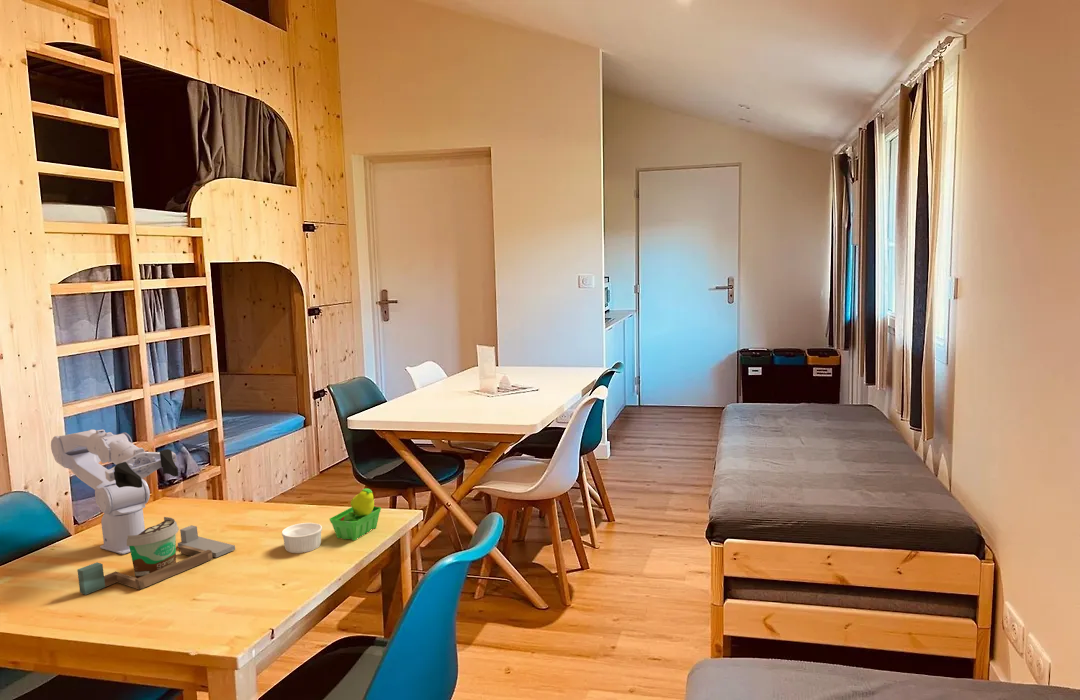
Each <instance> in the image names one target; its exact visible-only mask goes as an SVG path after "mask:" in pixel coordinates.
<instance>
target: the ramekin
mask: <svg viewBox="0 0 1080 700" xmlns="http://www.w3.org/2000/svg"><path fill="white" fill-rule="evenodd" d="M322 531H323V526H322V525H321V524H320V523H316V522H302V523H301V522H300V523H296V524H292V525H289V526H287V527H285V528H284V529H282V531H281V535H282V538H283V543H284V544H283V545H284V549H285V550H286V551H287V552H288V553H291V554H301V553H302V554H303V552H304V553H309V552H312V551H314V549H315V550H316V548H317V549H318V548H319V547H320V546H321V543H322Z"/></svg>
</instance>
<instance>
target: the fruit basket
mask: <svg viewBox="0 0 1080 700" xmlns="http://www.w3.org/2000/svg"><path fill="white" fill-rule="evenodd" d="M350 506H351V507H350V508H348V509H346V510H344V511H341V512H339V513H338V514H336V515H334V516H332V517H330V518H329V522H330V523H331V526H332V528H333V530H334V533H335V536H336V538H337V539H338V538H342V540H346V539H352V540H351V541H357V540H358V539H359V538H361V537H360V536H362V535H363V536H365V535H366V534H365V533H367V532H369V531H370V530H371V529H374V528H375V529H377V526H378V523H379V517H380V513H381V509H382V507H381V506H375V500H374V493H373V491H372V489H370V488H363V489H362V490H361V491H360V492H359V493H358V494H356V495H354V496H353V498H351V501H350ZM375 529H374V530H375ZM371 531H372V530H371ZM371 531H370V532H371ZM370 532H369V533H370ZM364 534H365V535H364ZM367 534H368V533H367ZM363 536H362V537H363ZM357 538H358V539H357Z"/></svg>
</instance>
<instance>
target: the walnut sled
mask: <svg viewBox="0 0 1080 700" xmlns="http://www.w3.org/2000/svg"><path fill="white" fill-rule="evenodd" d="M179 549H180V554H183V555H186V556H189V557H187V558H184V559H182V560H179V561H176V563H174V564H172V565H169V566H167V567H164V568H162V569H159V570H157V571H154V572H152V573H149V574H147V575H144V576H142V577H139V578H136V577H134V576H132V575H128V574H125V573H121V572H118V571H113V572H111V573H108V574H105V575H104V573H105V571H104V565H103V563H101V562H98V561H97V562H93V563H91V564H89V565H85V566H84V567H83V566H82V567H81V568H78V569H77V578H78V585H79V586H78V587H79V594H82V595H85V596H86V595H88V594H91V593H94V592H96V591H98V590H101V589H104V588H106V587H109V586H111V585H114V584H117V583H118V584H121V585H124V586H128V587H130V588H134V589H137V590H142V589H144V588H146V587H149V586H151V585H154V584H156V583H159V582H162V581H163V580H166V579H168V578H171V577H173V576H175V575H178V574H180V573H183V572H184V571H188V570H190V569H193V568H195V567H197V566H199V565H202V564H205V563H207V562H209V561H212V560H213V556H212V551H211V550H206V551H205V550H201V549H197V548H193V547H190V546H186V545H183V546H180V548H179Z"/></svg>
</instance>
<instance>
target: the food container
mask: <svg viewBox="0 0 1080 700" xmlns="http://www.w3.org/2000/svg"><path fill="white" fill-rule="evenodd" d="M179 531H180V529H179V526H178V524H177V521H176V520H175V518H172V517H170V516H169V517H167V516H163V521H161V522H160V523H158V524H156V525H153V526H149V527H147V528H145V530H144V531H143V532H141V533H140V534H138V535H133V536H128V539H127V546H129V547H130V552H129V553H130V557H131V561H132V565H133V570H134V571H133V572H134V575H135V578H139V577H142V576H144V575H147V574H149V573H152V572H154V571H157V570H159V569H162V568H164V567H167V566H169V565H172V564H174V563H177V547H176V546H177V545H176V544H177V543H176V541H177V540H176V536H177V534H178V532H179Z"/></svg>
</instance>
